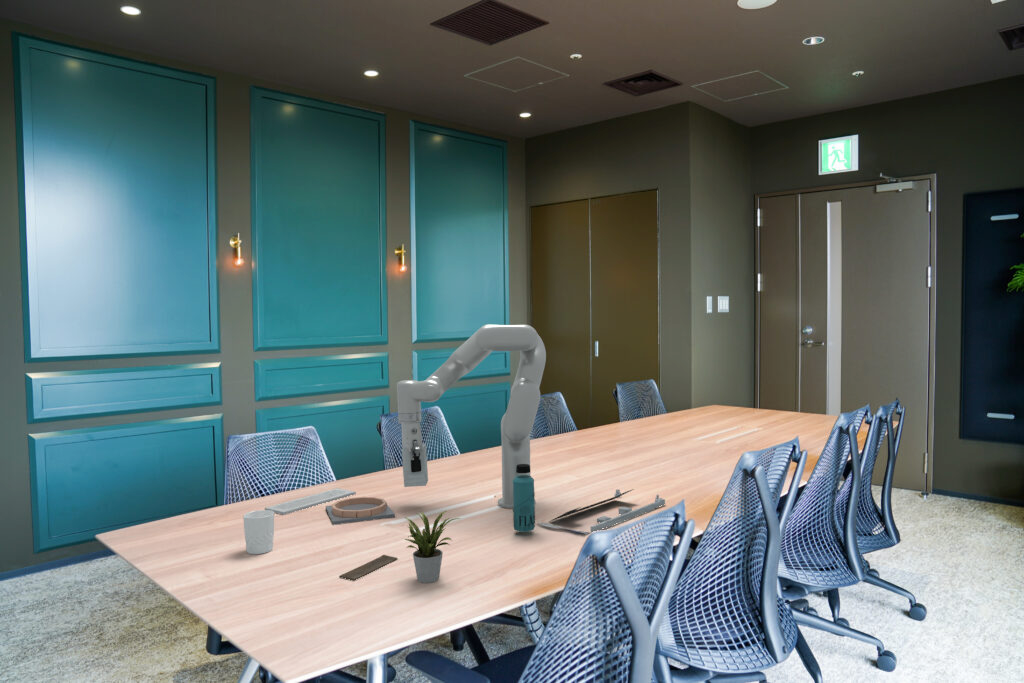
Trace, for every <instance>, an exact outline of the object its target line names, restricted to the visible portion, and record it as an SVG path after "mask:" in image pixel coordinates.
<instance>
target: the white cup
mask: <svg viewBox="0 0 1024 683" xmlns="http://www.w3.org/2000/svg"><path fill="white" fill-rule="evenodd" d="M242 517H243V529H244V531H243V532H244V540H245V549H246V550H245V551H246V553H247V554H249V555H262V554H265V553H266V552H267V553H269V552H271V551H273V549H274V537H275V536H274V534H275V513H274V512H273V511H270V510H265V509H263V510H262V509H261V510H260V509H259V510H254V511H253V510H252V511H250V512H247V513H245V514H244V513H243V516H242Z"/></svg>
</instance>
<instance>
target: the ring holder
mask: <svg viewBox="0 0 1024 683" xmlns="http://www.w3.org/2000/svg"><path fill="white" fill-rule="evenodd" d="M325 510H327V511H326V513H327V512H328V513H327V514H329V515H328V517H329V516H330V517H329V519H330V518H331V519H330V521H331V520H332V521H331V523H332V525H333V524H335V525H342V524H341V523H343V524H348V523H347V522H351V523H357V522H356V521H359V522H365V521H364V520H367V521H374V520H373V519H375V520H382V519H381V518H383V519H390V517H391V518H396V513H395V512H394V511H393V509H391V507H390V506H389V505H388V502H387V501H386V500H385V499H384V498H380V497H376V496H355V497H348V498H343V499H339V500H336V501H335V502H334V503H332V504H331V505H326V506H325Z"/></svg>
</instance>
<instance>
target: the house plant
mask: <svg viewBox="0 0 1024 683" xmlns="http://www.w3.org/2000/svg"><path fill="white" fill-rule="evenodd" d="M447 511H448V510H444V511H441V512H440V513H439V514H438V516H437V517H436V519H435V520H434V522H433V525H432V528H431V529H432V530H431V529H430V522H429V519H428V516H426V514H425V513H424V512H423V511H419V512H420V514H419V513H418V512H416V511H415V513H416V514H417V515H418V516H419V517H420V519H421V520H422V522H423V524H424V528H423V529H422V532H421V531H420V529H419V526H418V525H417V524H416V523H415V522H414V521H413V520H411V518H408V517H406V516H404V519H407V521H408V522H409V523H408V529H409V532H410V534H411V535H408V536H407V538H404V540H406V541H408V542H409V543H410V542H411V543H412V544H415V545H416V546H417V547H418V548H417V547H415V546H414V545H412V544H411V545H408V546H406V548H405V549H407V548H412V549H413V548H414V549H416V550H415V551H414V552H413V553H412V557H413V564H414V568H415V574H416V579H417V581H418V582H419V583H423V584H430V583H435V582H437V581H439V579H440V576H441V567H442V561H443V550H441V549H440V548H438V547H439V546H445V545H448V546H451V545H450V543H449V542H443V541H447V540H448V541H451V542H453V540H452V538H450V537H449V536H448V537H444V538H442V539H441V540H439V538H440V536H441V535H442V533H443V532H444V531H445V530H446V529H447V528H446V527H445V526H446V525H448V524H449V523H450V522H452V521H454V520H461V517H457V518H450V517H448V518H447V517H446V518H445V519H444V520H443V521H442V522H441V523H440V520H441V519H443V518H442V517H443V515H444V514H445V513H447ZM449 519H450V520H449ZM439 523H440V524H439ZM438 524H439V526H438ZM401 526H404V525H401ZM437 526H438V527H437ZM444 527H445V528H444ZM410 537H411V538H413V539H411V538H410Z"/></svg>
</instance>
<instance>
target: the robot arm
mask: <svg viewBox="0 0 1024 683" xmlns="http://www.w3.org/2000/svg"><path fill="white" fill-rule="evenodd" d="M492 352H519V353H520V359H519V363H518V366H517V367H518V368H517V371H516V375H515V378H514V381H513V384H512V386H511V388H510V397H509V400H508V404H507V408H506V411H505V413H504V414H503V416H502V417H501V421H500V435H501V440H500V441H501V485H502V486H501V490H502V492H501V493H502V494H501V497H500V498H499V499H497V505H498V506H499V507H502V508H505V509H513V479H514V478H515V477H516V476H518V475H529V476H531V471H530V472H529V473H517V472H516V466H517V465H518V464H529V465H530V466H531V433H532V429H533V426H534V424H535V421H536V416H537V413H538V409H539V407H540V403H541V390H540V386H541V383H542V378H543V375H544V371H545V366H546V361H547V351H546V347H545V343H544V342H543V339H542V338H541V336H539V334H538V332H537V330H536V329H535V328H534V327H532V326H531V325H529V324H491V323H488V324H487V323H486V324H483V325H482V326H481V327H480V328H479V329H477V330H476V331H475V332H474V333H473V334H472V335H471V336H470V337H469V338H468V339H467V340H466V341H464V342H463V343H462V344H461V345H460V346H459V347H457V349H455V350H454V351H453V352H452V353H451V355H450V356H449V357H448V358H447V359H446V360H445V362H444V363H442V364H441V365H440V366H439V367H438V368H437V369H436V370H435V371H434V372H433V373H432V374H431V375H430V376H428V377H427V378H426V379H425V380H416V379H407V380H406V379H404V380H400V381H398V382H397V383H396V396H397V397H396V398H397V400H396V401H397V414H398V415H397V416H398V417H397V418H398V424H401V441H402V442H401V443H402V449H403V448H404V447H405V448H406V449H407V450H408V453H410V454H411V459H412V460H411V472H420V471H421V457H420V453H419V452H420V451H422V450H423V444H424V443H423V435H422V429H421V428H422V427H421V422H422V405H421V404H422V403H421V402H423V403H435V402H436V401H438V400H440V398H441V397H442V395H443V394H444V393H445V392H447V391H448V390H449V389H450V388H451V387H452V386H453V385H454V384H456V382H458V381H459V380H460V379H461V378H463V377H464V376H465V375H467V374H469V373H470V372H472V371H473V370H474V369H475V368H476V367H477V366H479V365H480V363H482V361H484V360H485V359H486V358H487V357H488V356H490V354H491V353H492ZM414 448H415V450H413V451H412V449H414ZM413 454H414V456H413ZM536 504H537V500H536V499H535V502H534V506H536Z"/></svg>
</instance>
